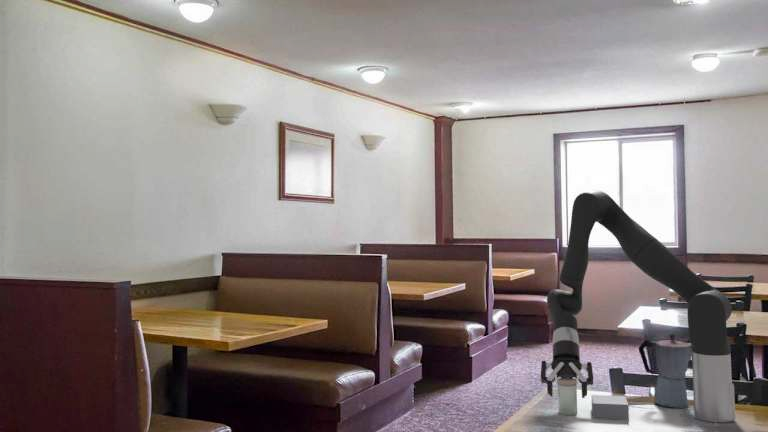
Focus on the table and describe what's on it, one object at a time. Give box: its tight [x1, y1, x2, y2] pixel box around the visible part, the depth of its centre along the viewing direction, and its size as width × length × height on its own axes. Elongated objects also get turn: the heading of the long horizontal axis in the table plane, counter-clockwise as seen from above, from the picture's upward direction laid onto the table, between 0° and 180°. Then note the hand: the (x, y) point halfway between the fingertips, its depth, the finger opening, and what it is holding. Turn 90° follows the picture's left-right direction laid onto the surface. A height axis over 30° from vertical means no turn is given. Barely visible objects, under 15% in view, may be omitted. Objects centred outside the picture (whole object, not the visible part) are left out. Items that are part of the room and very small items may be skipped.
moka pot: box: [638, 333, 692, 409], centre depth 189 cm, size 10×15×20 cm, turn 78°
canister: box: [556, 377, 578, 416], centre depth 183 cm, size 5×5×9 cm
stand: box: [590, 394, 630, 421], centre depth 180 cm, size 9×9×4 cm
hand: (567, 395), depth 182 cm, fingers open, 8 cm apart
